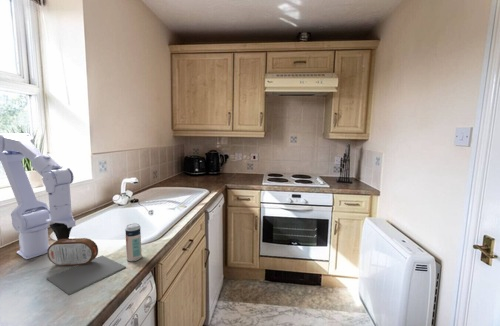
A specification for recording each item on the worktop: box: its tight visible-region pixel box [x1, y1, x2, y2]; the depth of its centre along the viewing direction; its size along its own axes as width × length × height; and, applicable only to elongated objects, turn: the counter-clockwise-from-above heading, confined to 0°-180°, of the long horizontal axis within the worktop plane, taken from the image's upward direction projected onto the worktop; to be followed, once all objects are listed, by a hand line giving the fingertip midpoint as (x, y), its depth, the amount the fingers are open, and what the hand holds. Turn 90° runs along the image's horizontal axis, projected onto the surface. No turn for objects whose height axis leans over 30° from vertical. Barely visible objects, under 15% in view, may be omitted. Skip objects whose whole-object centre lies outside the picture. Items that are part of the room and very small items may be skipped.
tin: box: [46, 237, 99, 267], centre depth 79 cm, size 15×3×8 cm, turn 92°
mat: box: [46, 255, 127, 296], centre depth 75 cm, size 14×16×1 cm
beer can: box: [124, 223, 142, 262], centre depth 84 cm, size 5×5×12 cm
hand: (63, 243), depth 82 cm, fingers closed
